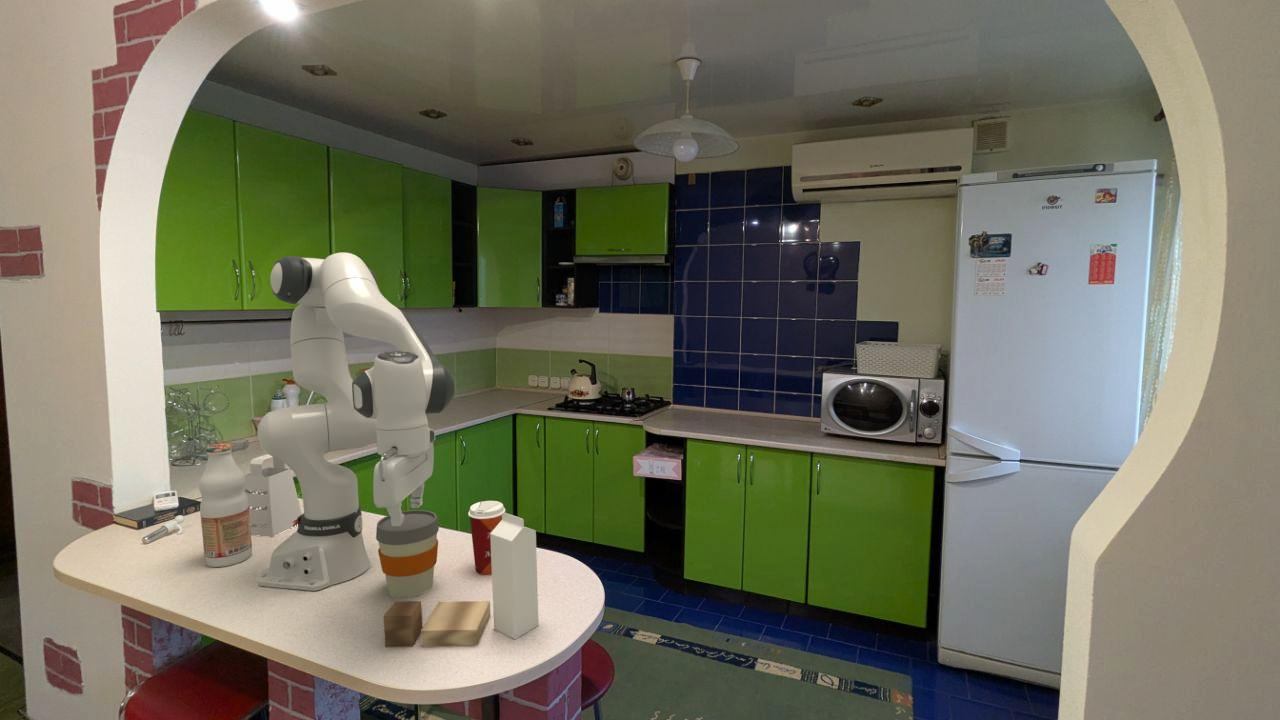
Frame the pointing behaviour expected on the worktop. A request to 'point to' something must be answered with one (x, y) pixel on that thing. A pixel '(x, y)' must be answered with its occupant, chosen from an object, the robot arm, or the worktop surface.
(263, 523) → the grater
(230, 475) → the fruit juice
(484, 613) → the oak plinth
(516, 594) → the milk
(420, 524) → the reusable coffee cup
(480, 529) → the coffee cup
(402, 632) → the walnut cube
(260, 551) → the worktop surface
